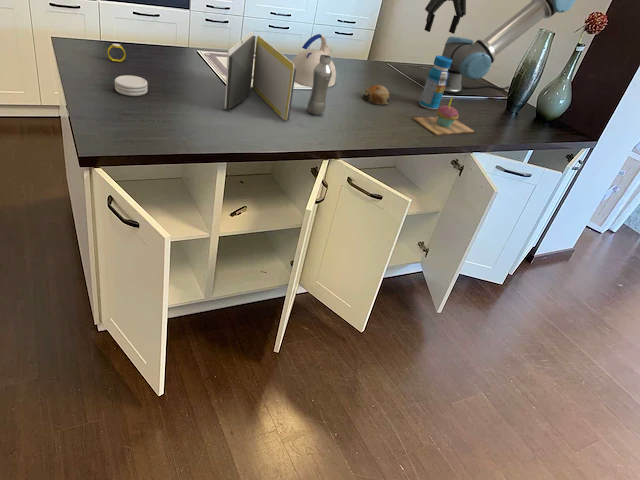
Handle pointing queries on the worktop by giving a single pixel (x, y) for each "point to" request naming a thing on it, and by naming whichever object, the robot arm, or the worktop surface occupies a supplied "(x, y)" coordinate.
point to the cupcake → (447, 115)
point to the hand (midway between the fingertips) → (439, 32)
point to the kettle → (311, 62)
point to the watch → (116, 47)
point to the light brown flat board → (437, 129)
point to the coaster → (131, 85)
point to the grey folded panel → (259, 75)
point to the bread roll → (377, 95)
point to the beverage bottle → (436, 83)
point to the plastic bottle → (320, 86)
